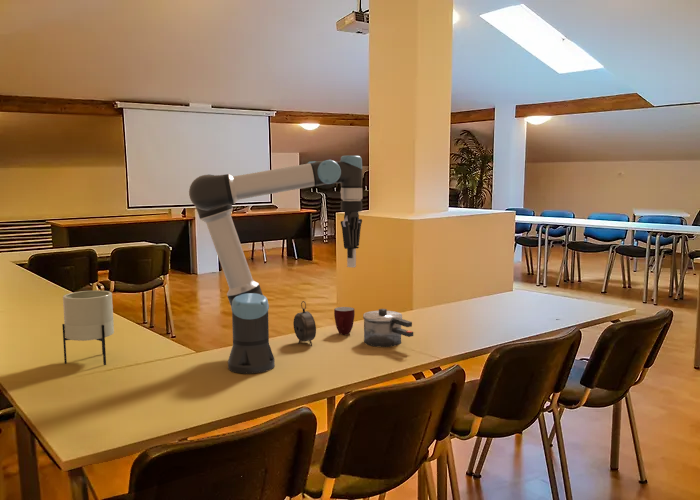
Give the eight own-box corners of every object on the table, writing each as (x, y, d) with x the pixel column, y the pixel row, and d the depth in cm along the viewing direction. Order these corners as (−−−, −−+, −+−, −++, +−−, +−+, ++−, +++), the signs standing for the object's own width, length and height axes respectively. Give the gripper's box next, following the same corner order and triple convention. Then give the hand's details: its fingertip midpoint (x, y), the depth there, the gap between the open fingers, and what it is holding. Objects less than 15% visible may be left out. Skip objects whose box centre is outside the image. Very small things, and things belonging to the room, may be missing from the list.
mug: (352, 338, 237) (352, 312, 236) (332, 337, 238) (332, 312, 237) (355, 331, 247) (355, 307, 246) (335, 330, 248) (335, 306, 247)
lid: (392, 329, 212) (392, 320, 212) (355, 316, 232) (355, 308, 232) (425, 324, 220) (425, 315, 220) (386, 312, 240) (387, 304, 240)
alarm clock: (317, 346, 226) (316, 302, 224) (304, 348, 223) (303, 304, 221) (303, 339, 235) (303, 297, 233) (291, 341, 233) (290, 299, 231)
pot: (396, 354, 214) (396, 329, 213) (356, 340, 233) (356, 317, 232) (425, 348, 222) (425, 324, 221) (385, 335, 241) (385, 312, 240)
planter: (65, 357, 212) (61, 292, 209) (114, 352, 218) (111, 288, 216) (63, 370, 198) (59, 300, 196) (116, 364, 204) (112, 296, 202)
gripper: (350, 199, 221) (350, 264, 224) (333, 200, 210) (333, 268, 212) (368, 199, 218) (368, 265, 221) (353, 201, 206) (353, 270, 209)
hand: (351, 266), depth 217 cm, fingers closed
